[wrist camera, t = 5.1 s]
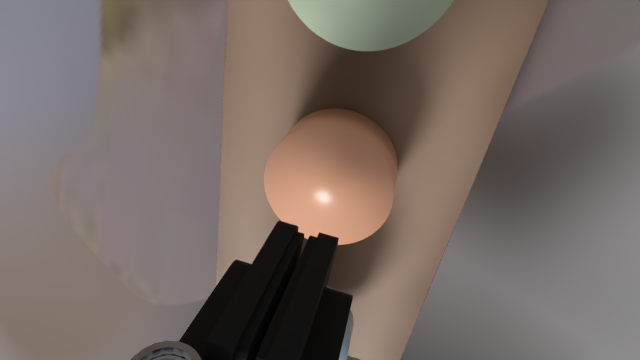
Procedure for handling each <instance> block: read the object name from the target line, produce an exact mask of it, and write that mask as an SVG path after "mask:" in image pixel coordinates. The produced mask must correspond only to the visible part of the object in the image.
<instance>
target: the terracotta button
mask: <svg viewBox="0 0 640 360" xmlns="http://www.w3.org/2000/svg"><path fill="white" fill-rule="evenodd" d="M397 167H398V165H397V157H396V152H395V149H394V147H393V144H392V142H391V141H390V139H389V137H388V136H387V134H386V133H385V132H384V130H383V129H382V128H381V127H380V126H379V125H377V124H376V123H375V122H374V121H372V120H371V119H369V118H368V117H366V116H364V115H362V114H360V113H357V112H354V111H351V110H346V109H336V108H332V109H324V110H319V111H316V112H313V113H311V114H309V115H307V116H305V117H304V118H302V119H301V120H300V121H298V122H297V123H296V124H295V125H294V126H293V127H292V129H291V130H290V131H289V132H288V133H287V135H286V136H285V137H284V138H283V139H282V140H281V142H280V143H279V144H278V145H277V146H276V148H275V149H274V150H273V152H272V153H271V155H270V157H269V159H268V161H267V164H266V167H265V172H264V188H265V192H266V196H267V199H268V201H269V204H270V206H271V208H272V209H273V211H274V212H275V214H276V215H277V217H278V218H279V219H280V220H281V221H283V222H286V223H290V224H293V225H296V226H298V232H301V233H304V238H306V239H308V238H309V236H310V235H311V236H314V237H317V236H318V234H319V232H320V233H324V234H327V235H330V236H334V237H337V238H339V240H338V245H344V244H350V243H355V242H358V241H360V240H363V239H365V238H367V237H369V236H370V235H372V234H373V233H375V232H376V231H377V230H378V229H379V228H380V227H381V226H382V225H383V223H384V222H385V221H386V219H387V217H388V216H389V213H390V211H391V208H392V204H393V199H394V192H395V185H396V177H397Z"/></svg>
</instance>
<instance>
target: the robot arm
mask: <svg viewBox="0 0 640 360" xmlns="http://www.w3.org/2000/svg"><path fill="white" fill-rule="evenodd" d="M303 240H304V233H301V232H298V226H296V225H293V224H290V223H286V222H283V221H278V222H277V223H276V225H275V226H274V228H273V230H272V231H271V233H270V235H269V236H268V238H267V240H266V241H265V243H264V244H263V246H262V248H261V249H260V251H259V253H258V254H257V256H256V258H255V259H254V261H253V263H252V264H250V263H247V262H243V261H240V260H237V259H236V260H235V261H233V263H232V264H231V265H230V267H229V268H228V270H227V271H226V272H225V274H224V275H223V277H222V278H221V280H220V281H219V283H218V284H217V286H216V287H215V289H214V290H213V292H212V293H211V295H210V296H209V298H208V299H207V301H206V302H205V304H204V305H203V307H202V308H201V310H200V311H199V313H198V314H197V315H196V317H195V319H194V320H193V321H192V323H191V324H190V326H189V327H188V329H187V330H186V332H185V333H184V335H183V336H182V338H181V339H180V341H163V342H159V343H154V344H152V345H150V346H148V347H146V348H144V349H142V350H141V351H140V352H139V353H137V354H136V355H135V356H134V357H133V358H132V359H131V360H339V356H340V352H341V348H342V343H343V339H344V335H345V330H346V326H347V321H348V317H349V313H350V308H351V304H352V300H353V295H350V294H347V293H343V292H340V291H337V290H334V289H330V288H327V284H328V280H329V276H330V272H331V268H332V264H333V260H334V257H335V253H336V249H337V245H338V240H339V238H337V237H334V236H330V235H327V234H324V233H320V232H319V234H318V236H317V237H314V236H311V235H310V236H309V238H308V241H307V243H306V245H305V247H304V249H303V252H302V254H301V250H302V245H303ZM300 255H301V256H300Z"/></svg>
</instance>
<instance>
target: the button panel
mask: <svg viewBox="0 0 640 360" xmlns="http://www.w3.org/2000/svg"><path fill="white" fill-rule="evenodd" d="M548 1H549V0H453V2H452V3H451V5H450V6H449V8H448V9H447V10H446V11H445V13H444V14H443V15H442V16H441V17H440V18H439V19H438V20H437V21H436V22H435V23H434V24H433V25H432V26H431V27H430V28H429V29H427V30H426V31H424V32H423V33H422V34H420V35H419V36H417V37H416V38H414V39H412V40H410V41H408V42H406V43H404V44H401V45H399V46H397V47H393V48H389V49H385V50H379V51H356V50H349V49H346V48H343V47H339V46H337V45H334V44H332V43H330V42H328V41H326V40H324V39H323V38H321V37H320V36H318V35H317V34H315V33H314V32H313V31H312V30H311V29H309V28H308V27H307V26H306V25H305V24H304V23H303V22H302V20H301V19H300V18H299V17H298V15H297V14H296V13H295V11H294V10H293V9H292V7H291V5H290V3H289V2H288V0H227V25H226V49H225V74H224V99H223V124H222V149H221V173H220V198H219V223H218V248H217V273H216V286H217V284H218V283H219V281H220V280H221V278H222V277H223V275H224V274H225V272H226V271H227V270H228V268H229V267H230V265H231V264H232V263H233V261H235V260H236V259H237V260H240V261H243V262H247V263H250V264H252V263H253V261H254V259H255V258H256V256H257V254H258V253H259V251H260V249H261V248H262V246H263V244H264V243H265V241H266V240H267V238H268V236H269V235H270V233H271V231H272V230H273V228H274V226H275V225H276V223H277V222H278V221H281V220H280V219H279V218H278V217H277V215H276V214H275V212H274V211H273V209H272V208H271V206H270V204H269V201H268V199H267V196H266V192H265V188H264V172H265V167H266V164H267V161H268V159H269V157H270V155H271V153H272V152H273V150H274V149H275V148H276V146H277V145H278V144H279V143H280V142H281V140H282V139H283V138H284V137H285V136H286V135H287V133H288V132H289V131H290V130H291V129H292V127H293V126H294V125H295V124H296V123H297V122H298V121H300V120H301V119H302V118H304V117H305V116H307V115H309V114H311V113H313V112H316V111H319V110H324V109H332V108H336V109H346V110H351V111H354V112H357V113H360V114H362V115H364V116H366V117H368V118H369V119H371V120H372V121H374V122H375V123H376V124H377V125H379V126H380V127H381V128H382V129H383V130H384V132H385V133H386V134H387V136H388V137H389V139H390V141H391V142H392V144H393V147H394V149H395V152H396V157H397V165H398V167H397V177H396V185H395V192H394V199H393V204H392V208H391V211H390V213H389V216H388V217H387V219H386V221H385V222H384V223H383V225H382V226H381V227H380V228H379V229H378V230H377V231H376V232H375V233H373V234H372V235H370V236H369V237H367V238H365V239H363V240H360V241H358V242H355V243H350V244H344V245H337V249H336V253H335V257H334V260H333V264H332V268H331V272H330V276H329V280H328V284H327V285H328V286H330V287H331V288H333V289H334V290H337V291H340V292H343V293H347V294H350V295H353V300H352V304H351V308H350V309H351V311H352V314H353V319H354V326H353V331H352V336H351V341H350V346H349V351H348V356H351V357H355V358H358V359H361V360H400V359H401V356H402V353H403V351H404V349H405V346H406V344H407V342H408V339H409V337H410V334H411V332H412V329H413V327H414V325H415V322H416V320H417V317H418V315H419V313H420V310H421V308H422V305H423V303H424V301H425V298H426V295H427V293H428V291H429V289H430V286H431V284H432V281H433V279H434V276H435V274H436V272H437V269H438V267H439V264H440V262H441V260H442V257H443V255H444V252H445V250H446V247H447V245H448V243H449V240H450V238H451V235H452V233H453V231H454V228H455V226H456V223H457V221H458V218H459V216H460V214H461V211H462V209H463V207H464V204H465V202H466V199H467V197H468V194H469V192H470V189H471V187H472V185H473V182H474V180H475V178H476V175H477V173H478V170H479V168H480V165H481V163H482V161H483V158H484V156H485V153H486V151H487V148H488V146H489V144H490V141H491V139H492V137H493V134H494V132H495V129H496V127H497V124H498V122H499V120H500V117H501V115H502V112H503V110H504V108H505V105H506V103H507V100H508V98H509V96H510V93H511V91H512V88H513V86H514V83H515V81H516V79H517V76H518V74H519V71H520V69H521V67H522V64H523V62H524V59H525V57H526V54H527V52H528V50H529V47H530V45H531V42H532V40H533V38H534V35H535V33H536V30H537V28H538V26H539V23H540V21H541V18H542V16H543V13H544V11H545V9H546V6H547V4H548ZM307 241H308V239H306V238H304V240H303V245H302V250H301V254H302V252H303V249H304V247H305V245H306V243H307ZM300 256H301V255H300Z"/></svg>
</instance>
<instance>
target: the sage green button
mask: <svg viewBox="0 0 640 360" xmlns="http://www.w3.org/2000/svg"><path fill="white" fill-rule="evenodd" d="M288 2H289V3H290V5H291V7H292V9H293V10H294V11H295V13H296V14H297V15H298V17H299V18H300V19H301V20H302V22H303V23H304V24H305V25H306V26H307V27H308V28H309V29H311V30H312V31H313V32H314V33H315V34H317V35H318V36H320V37H321V38H323V39H324V40H326V41H328V42H330V43H332V44H334V45H337V46H339V47H343V48H346V49H349V50H356V51H379V50H385V49H389V48H393V47H397V46H399V45H401V44H404V43H406V42H408V41H410V40H412V39H414V38H416V37H417V36H419V35H420V34H422V33H423V32H424V31H426V30H427V29H429V28H430V27H431V26H432V25H433V24H434V23H435V22H436V21H437V20H438V19H439V18H440V17H441V16H442V15H443V14H444V13H445V11H446V10H447V9H448V8H449V6H450V5H451V3H452V2H453V0H288Z"/></svg>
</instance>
